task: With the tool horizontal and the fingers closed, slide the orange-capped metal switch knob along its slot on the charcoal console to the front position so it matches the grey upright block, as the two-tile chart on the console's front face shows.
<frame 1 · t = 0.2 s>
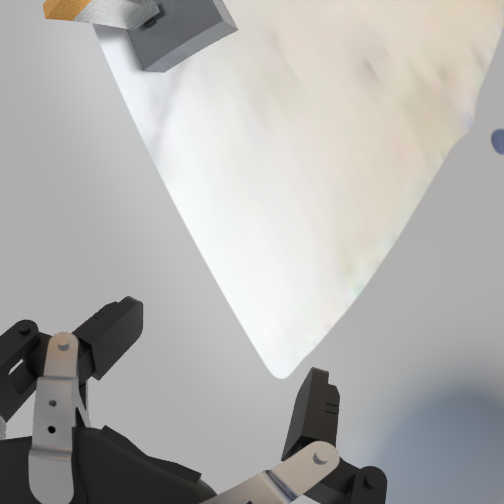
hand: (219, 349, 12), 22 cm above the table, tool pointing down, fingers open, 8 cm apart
knob orange: (106, 5, 16), point 11 cm above the table, slide at 0.0 cm
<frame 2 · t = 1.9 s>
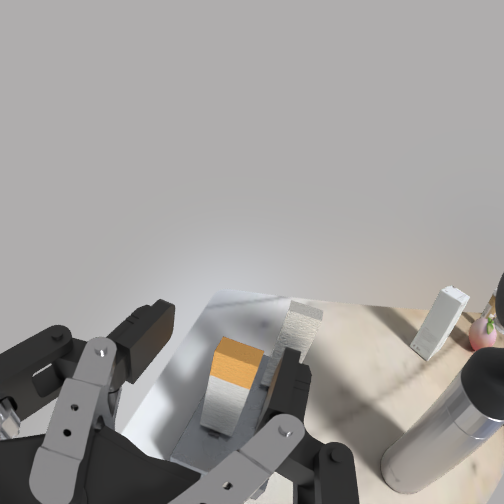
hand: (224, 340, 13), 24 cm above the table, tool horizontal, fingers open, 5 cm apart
sprinkles bottle: (479, 328, 67), on the table
grey upright block: (289, 350, 32), point 11 cm above the table, slide at 0.0 cm
console: (238, 423, 33), on the table
decorative fruit: (471, 349, 57), on the table
skincare box: (424, 348, 55), on the table
knob orange: (227, 394, 25), point 11 cm above the table, slide at 0.0 cm
french press: (502, 329, 69), on the table
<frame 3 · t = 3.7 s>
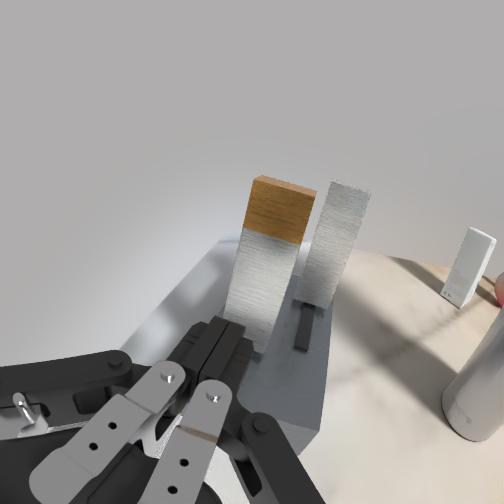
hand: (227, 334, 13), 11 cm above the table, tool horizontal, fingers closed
grey upright block: (330, 246, 27), point 11 cm above the table, slide at 0.0 cm
console: (266, 354, 27), on the table
decorative fruit: (498, 306, 51), on the table
skincare box: (454, 298, 49), on the table
knob orange: (263, 272, 20), point 11 cm above the table, slide at 0.0 cm
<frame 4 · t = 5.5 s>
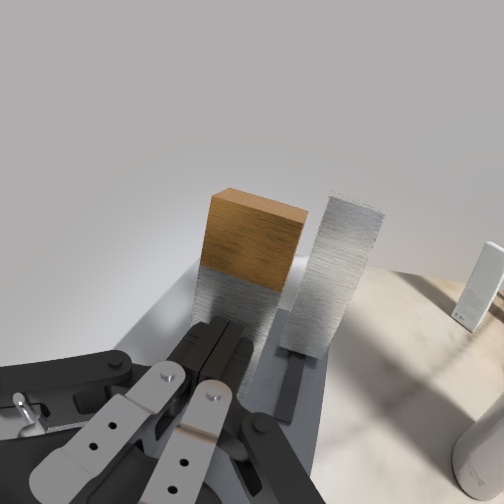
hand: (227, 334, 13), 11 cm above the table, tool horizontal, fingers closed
grey upright block: (327, 282, 20), point 11 cm above the table, slide at 0.0 cm
console: (242, 413, 20), on the table
skincare box: (465, 320, 42), on the table
knob orange: (233, 321, 14), point 11 cm above the table, slide at 1.6 cm, touching gripper
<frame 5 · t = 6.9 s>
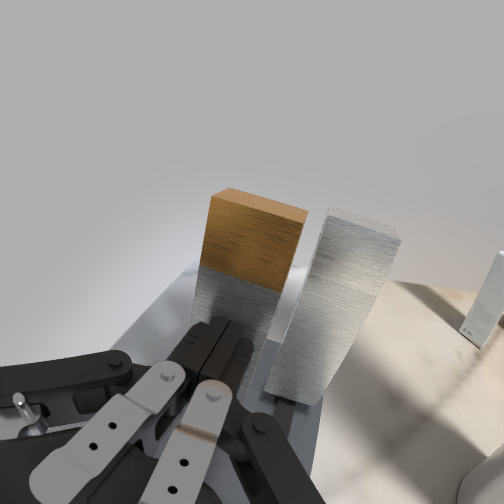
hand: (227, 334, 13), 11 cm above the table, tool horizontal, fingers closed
grey upright block: (323, 322, 16), point 11 cm above the table, slide at 0.0 cm
console: (221, 462, 16), on the table
skincare box: (473, 334, 38), on the table
knob orange: (233, 321, 14), point 11 cm above the table, slide at 6.5 cm, touching gripper
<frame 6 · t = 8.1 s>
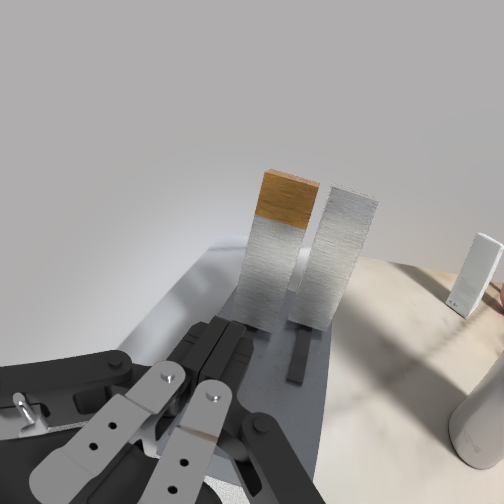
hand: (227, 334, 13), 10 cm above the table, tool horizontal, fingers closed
grey upright block: (330, 261, 23), point 11 cm above the table, slide at 0.0 cm
console: (256, 382, 24), on the table
skincare box: (459, 307, 46), on the table
knob orange: (272, 256, 22), point 11 cm above the table, slide at 6.5 cm
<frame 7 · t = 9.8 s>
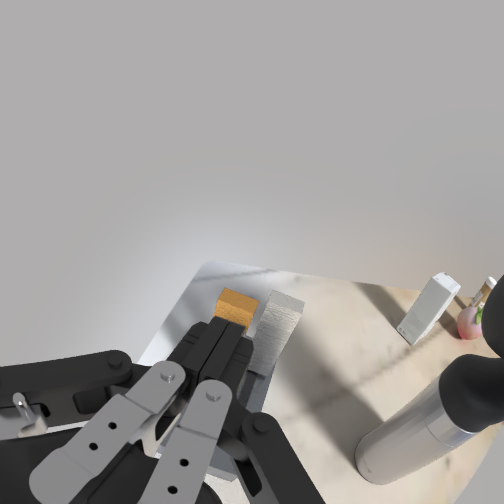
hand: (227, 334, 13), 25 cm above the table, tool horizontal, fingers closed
sprinkles bottle: (469, 314, 70), on the table
grey upright block: (269, 338, 33), point 11 cm above the table, slide at 0.0 cm
console: (218, 404, 35), on the table
decorative fruit: (459, 336, 60), on the table
skincare box: (410, 332, 57), on the table
knob orange: (226, 338, 31), point 11 cm above the table, slide at 6.5 cm
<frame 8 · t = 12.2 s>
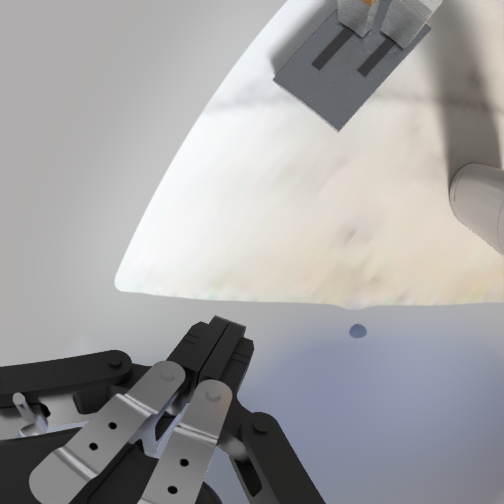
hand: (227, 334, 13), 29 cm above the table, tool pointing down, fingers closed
grey upright block: (407, 16, 18), point 11 cm above the table, slide at 0.0 cm
console: (354, 56, 30), on the table
knob orange: (357, 3, 19), point 11 cm above the table, slide at 6.5 cm
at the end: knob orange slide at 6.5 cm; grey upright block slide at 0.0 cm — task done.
